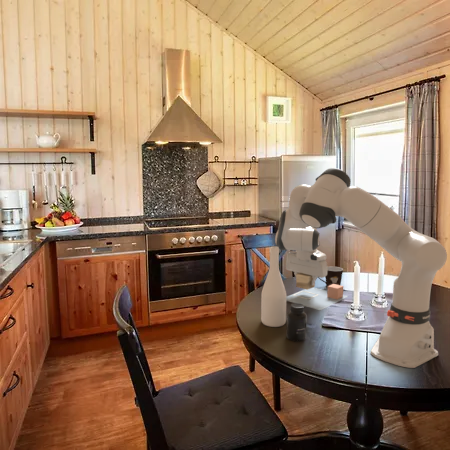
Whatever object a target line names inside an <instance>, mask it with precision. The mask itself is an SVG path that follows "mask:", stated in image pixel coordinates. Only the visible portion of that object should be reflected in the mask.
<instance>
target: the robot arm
mask: <svg viewBox="0 0 450 450" xmlns="http://www.w3.org/2000/svg"><path fill="white" fill-rule="evenodd" d="M337 217H341V218H344V219H346V220H347V221H348V222H349V223H350V224H352V225H353V226H355V228H357V229H358V230H359V231H361V232H362V233H363V234H365V235H366V236H367V237H368V238H370V239H371V240H372V241H374V242H375V243H376V244H378V245H379V246H380V247H381V248H382V249H384V250H385V251H386V252H387V253H389V255H390V256H392V257H393V258H395V259H396V260H397V261H399V262H401V268H400V272H399V274H398V276H397V278H396V279H395V280H394V281H393V286H392V287H393V288H392V302H391V303H390V307H389V309H388V310H387V312H386V316H387V319H386V321H385V323H384V325H383V327H382V330H381V333H380V335H379V337H378V338H377V340H376V341H375V343H374V344H373V346H372V348H371V350H370V354H371V355H372V356H373V357H375V358H376V359H379V360H381V361H383V362H386V363H388V364H391V365H395V366H399V367H404V368H409V369H414V368H417V367H419V366H421V365H423V364H425V363H427V362H428V361H431V360H432V359H434V358H436V357H438V356H439V351H438V350H437V349H435V348H434V347H435V346H434V345H435V343H434V342H435V341H434V340H435V335H434V334H435V332H434V331H435V329H434V327H433V326H432V325H431V323H430V320H431V308H430V300H431V289H432V284H433V281H434V279H435V276H436V274H437V272H438V271H440V270H441V269H443V267H444V266H445V264H446V262H447V260H448V254H447V250H446V248H445V246H443V244H442V243H441V242H440V241H438V240H437V239H435V238H434V237H433V236H432V237H431V236H429V235H426V234H423V233H421V232H418V231H417V230H415V229H413V228H412V227H411V226H410V225H409V224H408V223H406V221H404V220H403V218H402V217H401V215H400V214H398V213H397V212H396V211H394V210H393V209H392V208H391V207H390V206H388V205H387V204H385V203H384V202H383V201H381V200H380V199H378V197H376V196H374V195H372V194H371V193H370V192H368V191H366V190H364V189H363V188H361V187H358V186H354V185H351V179H350V176H349V175H348V174H347V173H346V172H345V171H344V170H342V169H340V168H335V167H333V168H332V167H330V168H327V169H326V170H324V171H323V172H322V173H321V174H320V175H318V176H317V177H316V178H315V181H314V183H313V184H312V185H308V184H299V185H297V186H295V187H294V188H293V189H292V190H291V191H290V195H289V200H288V208H286V209H285V210H283V211H282V212H281V215H280V218H279V223H278V227H277V231H276V233H275V236H274V241H275V242H274V243H275V246H276V247H279V251H288V252H286V261H285V269H286V270H287V271H290V272H293V274H294V277H295V278H296V274H298V273H302V274H307V275H311V276H312V278H313V280H312V281H310V285H315V286H316V281H317V279H319V278H320V279H323V278H325V277H326V276H327V271H328V269H327V267H328V262H327V260H326V259H327V255H326V253H323V252H322V251H320V250H318V247H319V246H320V232H319V231H318V229H321V228H326V227H327V226H329V225H331V224H336V223H337ZM318 277H319V278H318Z"/></svg>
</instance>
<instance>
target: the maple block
mask: <svg viewBox="0 0 450 450" xmlns="http://www.w3.org/2000/svg"><path fill="white" fill-rule="evenodd" d="M295 280H296V281H295V288H298V289H302V290H304V289H306V290H308V289H310V288H313V287H314V288H316V284H315V285H310V281H312V280H313V278H312V276H311V275H307V274H302V273H298V274H296V277H295Z"/></svg>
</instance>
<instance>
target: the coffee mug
mask: <svg viewBox="0 0 450 450" xmlns="http://www.w3.org/2000/svg"><path fill="white" fill-rule="evenodd" d="M327 269H328V271H327V276H326V277H324V278H325V280H324V279H323V278H320V277H318V278H317V279H319V280H320V281H321V282H323V283H324V284H325V286H326V288H328V286H329V285H332V284H336V285H341V286H342V278H343V271H344V268H342V267H339V266H330V265H329V266H327Z"/></svg>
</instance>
